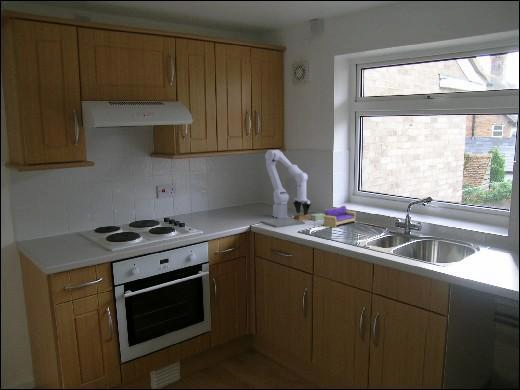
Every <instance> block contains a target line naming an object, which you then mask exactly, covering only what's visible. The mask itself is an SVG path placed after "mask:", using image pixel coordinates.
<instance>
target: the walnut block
mask: <svg viewBox="0 0 520 390" xmlns="http://www.w3.org/2000/svg"><path fill="white" fill-rule="evenodd" d="M310 215H311V214H308V213H307V215H304V213H297V214H294V215H293V219H296V220H300V221H303V220H305V221H311V220H310ZM303 222H304V221H303Z"/></svg>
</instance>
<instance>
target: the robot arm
mask: <svg viewBox="0 0 520 390" xmlns="http://www.w3.org/2000/svg"><path fill="white" fill-rule="evenodd" d="M264 158H265V166H266V170H267V173H268V175H269V178H270V181H271V185H272V187H273V190H274V191H273V194H272V195H273V201H274V204H273V205H272V216H274V217H273V218H276V217H277V218H285V217H289V218H290V216H289V215H288V202H289V200H290V195H289V194H288V192H287V190H286V189H284V187H283V185H282V182H281V180H280V177H279V176H280V175H279V173H278V171H277V168H276V164H277V162H278V161H279V162H281V164H283V165H284V167H286V168H287V169H288V172H289V173H290V175H292V176H293V177H294V179H295V181H296V186H297V187H296V190H297V191H296V194H297V195H296V196H297V197H294V198H293V205H294V208H295V211H296V213H297V214H301V210H303V214H304V215H307V214H308V212H309V209H310V207H311V206H312V203H311V200H309V199H308V198H307V182H308V180H309V176H308V174H307V172H303V170H301V169H300V168H299V167H298V165H297V164H293V163H292V162H290V160H289V159H288V158H287V157H286V156H285V154H284V153H283V151H281V150H280V149H268V150H266V153H265V155H264ZM301 206H302V207H301ZM301 208H302V209H301ZM277 218H276V219H277Z"/></svg>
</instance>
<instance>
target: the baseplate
mask: <svg viewBox="0 0 520 390" xmlns="http://www.w3.org/2000/svg"><path fill="white" fill-rule="evenodd" d="M260 223H261V224H264V223H265V224H264V225H267V226H270V227H273V228H283V227H289V226H290V227H291V226H297V225H298V226H299V225H304V224H305V221H300V220H296V219H294V218H292V217H290V216H289V217H285V218H270V219H262V220H260Z"/></svg>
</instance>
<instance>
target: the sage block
mask: <svg viewBox="0 0 520 390" xmlns="http://www.w3.org/2000/svg"><path fill="white" fill-rule="evenodd" d="M309 215H310V219H311V220H310V221H314V222H318V220H320V221H324V217H323V216H324V215H325V213H321V212H320V213H312V214H309Z"/></svg>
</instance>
